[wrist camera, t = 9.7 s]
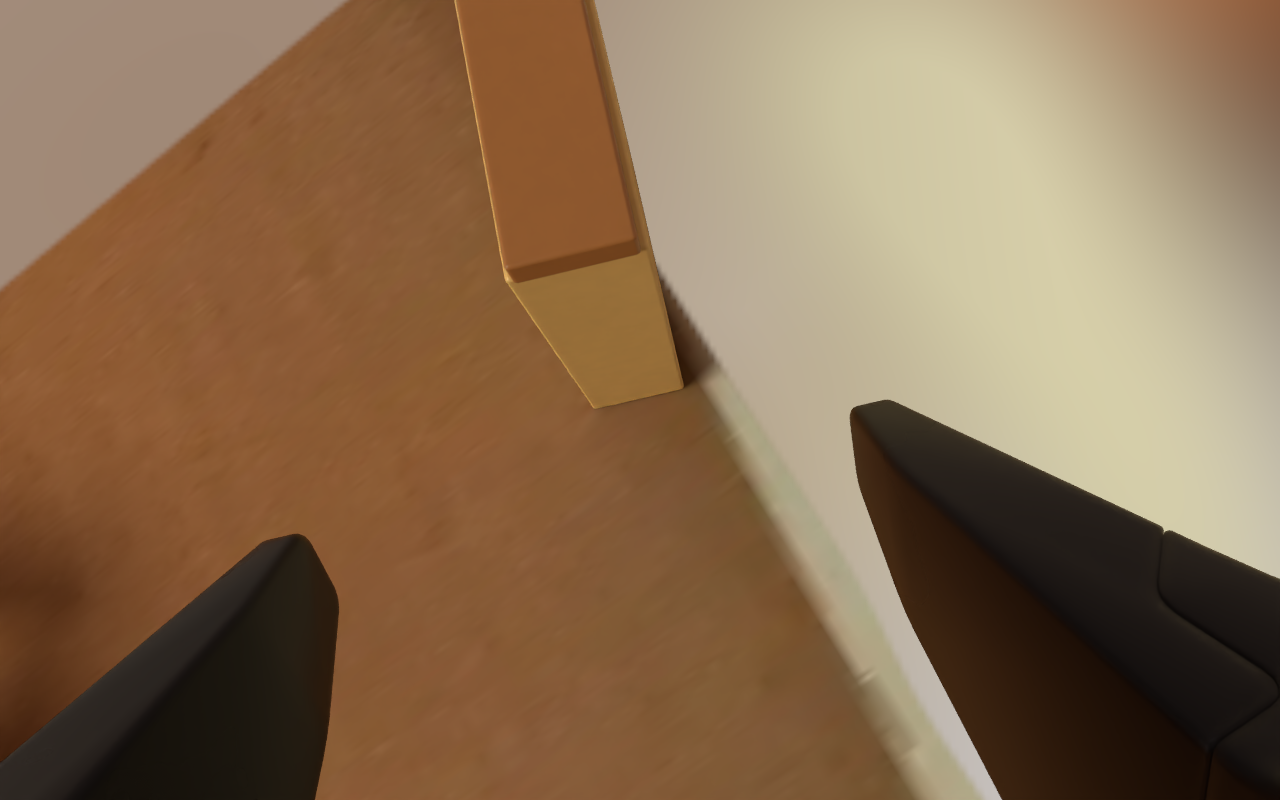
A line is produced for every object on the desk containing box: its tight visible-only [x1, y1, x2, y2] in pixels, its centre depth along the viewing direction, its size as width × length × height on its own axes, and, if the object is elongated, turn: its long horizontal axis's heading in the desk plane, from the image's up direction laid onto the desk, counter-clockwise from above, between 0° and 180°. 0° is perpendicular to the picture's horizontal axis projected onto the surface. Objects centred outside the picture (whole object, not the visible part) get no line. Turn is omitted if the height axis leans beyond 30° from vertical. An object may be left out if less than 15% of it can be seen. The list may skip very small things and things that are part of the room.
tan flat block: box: [455, 0, 684, 409], centre depth 20 cm, size 7×2×10 cm, turn 12°
